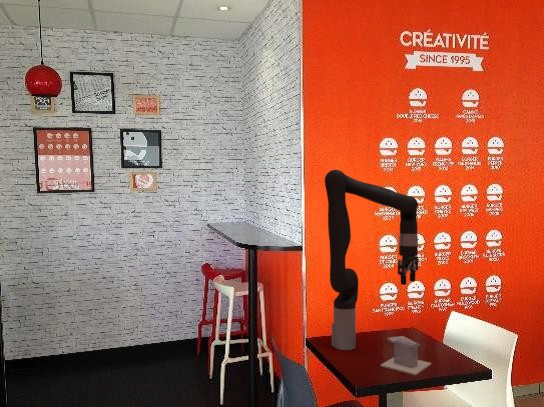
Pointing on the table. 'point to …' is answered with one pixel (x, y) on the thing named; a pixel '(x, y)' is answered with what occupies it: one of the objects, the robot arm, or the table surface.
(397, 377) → the table surface
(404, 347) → the medicine box
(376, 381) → the table surface
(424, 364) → the mat
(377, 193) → the robot arm
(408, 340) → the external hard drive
